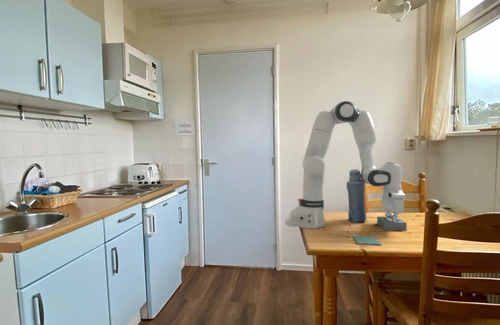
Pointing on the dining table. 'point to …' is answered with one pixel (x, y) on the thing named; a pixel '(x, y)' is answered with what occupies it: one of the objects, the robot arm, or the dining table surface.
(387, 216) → the end cover
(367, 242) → the mat
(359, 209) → the bottle
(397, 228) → the housing
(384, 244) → the dining table surface
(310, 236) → the dining table surface
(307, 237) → the dining table surface
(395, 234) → the dining table surface
